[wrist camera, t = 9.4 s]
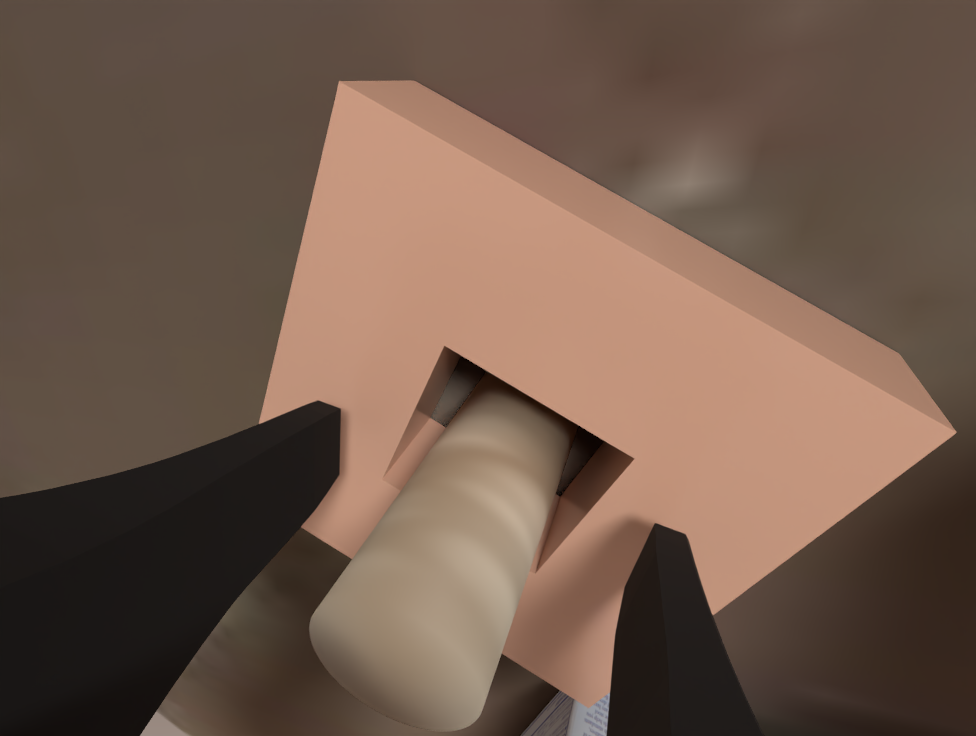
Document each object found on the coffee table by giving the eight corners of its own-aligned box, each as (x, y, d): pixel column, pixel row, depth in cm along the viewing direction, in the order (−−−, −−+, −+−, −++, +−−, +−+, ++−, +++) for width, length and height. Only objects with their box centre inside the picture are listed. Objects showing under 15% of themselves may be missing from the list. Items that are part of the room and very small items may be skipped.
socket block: (899, 353, 11) (956, 432, 9) (603, 620, 18) (588, 708, 15) (414, 80, 12) (339, 81, 9) (303, 435, 19) (243, 490, 16)
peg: (594, 377, 14) (499, 654, 7) (566, 463, 15) (468, 756, 9) (486, 343, 14) (307, 570, 8) (470, 429, 16) (310, 679, 9)
